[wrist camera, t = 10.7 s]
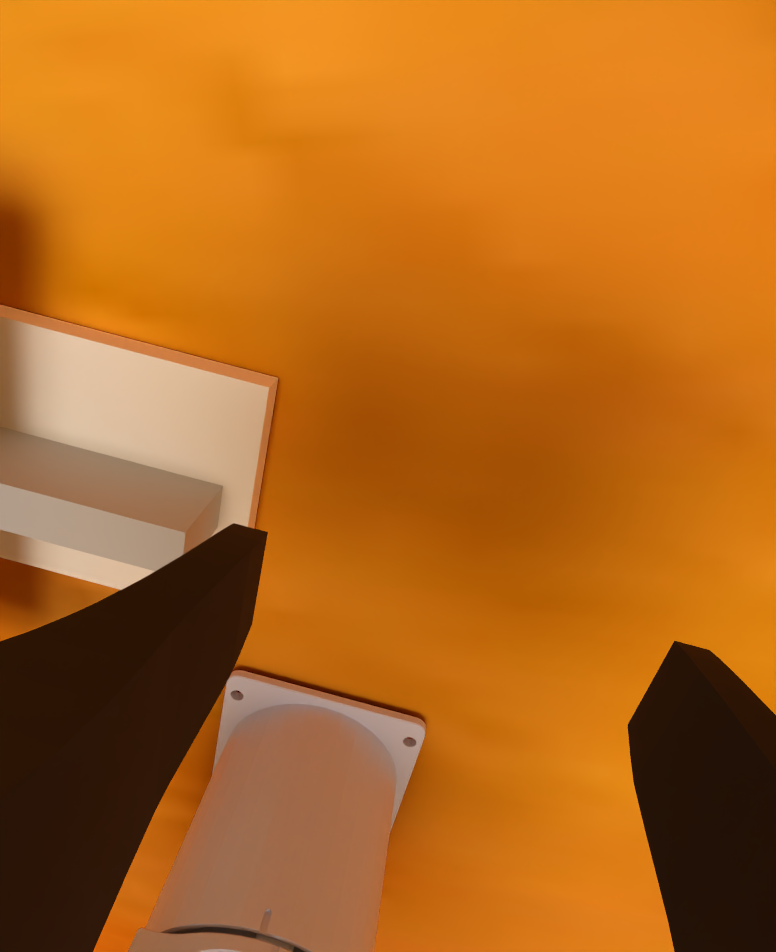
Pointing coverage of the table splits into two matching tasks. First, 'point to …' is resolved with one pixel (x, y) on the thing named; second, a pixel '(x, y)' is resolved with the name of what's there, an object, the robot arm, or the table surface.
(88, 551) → the ridge stand
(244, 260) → the table surface
